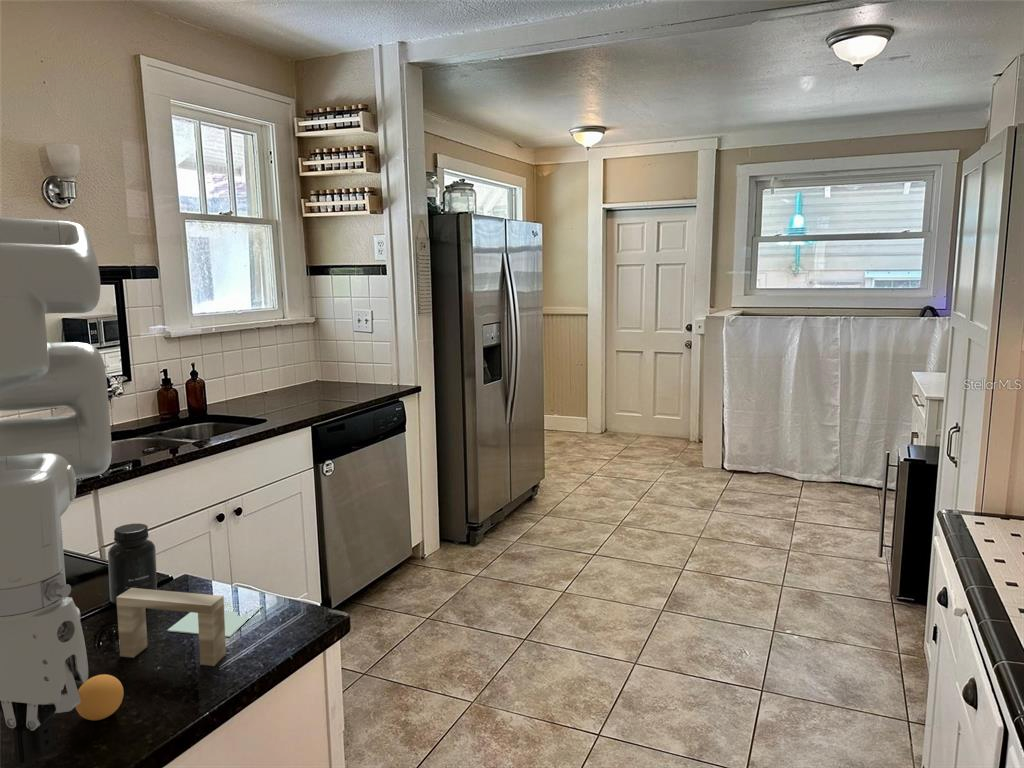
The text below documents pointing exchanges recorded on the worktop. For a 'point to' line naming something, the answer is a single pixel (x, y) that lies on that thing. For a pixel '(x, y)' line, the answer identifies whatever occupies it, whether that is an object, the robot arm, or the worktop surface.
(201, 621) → the bridge
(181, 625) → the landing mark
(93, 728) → the worktop surface
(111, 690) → the ball
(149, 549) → the supplement bottle
